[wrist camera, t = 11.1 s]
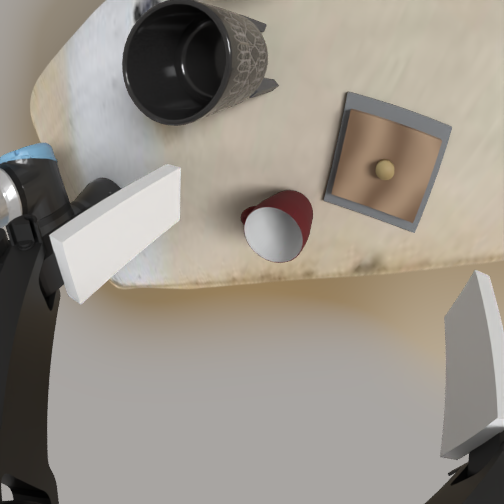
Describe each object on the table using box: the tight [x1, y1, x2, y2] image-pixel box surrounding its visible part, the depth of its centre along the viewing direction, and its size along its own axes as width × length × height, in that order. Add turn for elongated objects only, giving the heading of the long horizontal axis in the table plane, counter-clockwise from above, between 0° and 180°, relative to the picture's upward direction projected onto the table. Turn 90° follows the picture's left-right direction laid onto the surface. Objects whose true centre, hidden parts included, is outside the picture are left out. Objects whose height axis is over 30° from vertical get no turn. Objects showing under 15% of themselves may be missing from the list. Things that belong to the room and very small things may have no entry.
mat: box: [324, 92, 452, 233], centre depth 38 cm, size 14×16×1 cm
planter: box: [122, 0, 279, 126], centre depth 31 cm, size 13×13×18 cm
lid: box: [331, 109, 442, 223], centre depth 36 cm, size 12×12×3 cm
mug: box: [241, 190, 313, 263], centre depth 44 cm, size 10×8×10 cm
